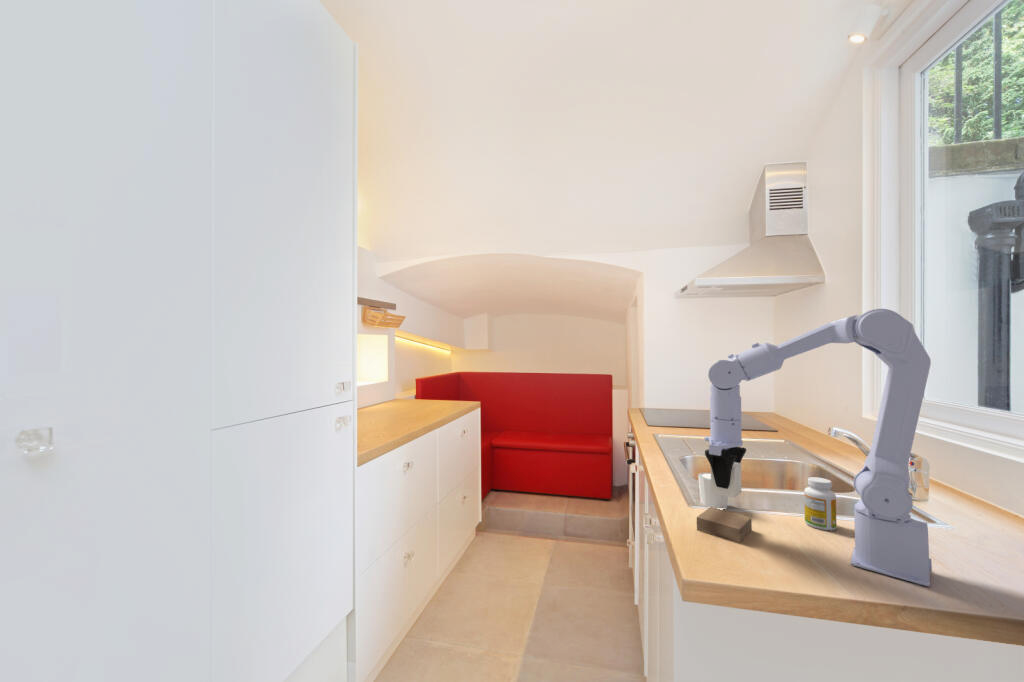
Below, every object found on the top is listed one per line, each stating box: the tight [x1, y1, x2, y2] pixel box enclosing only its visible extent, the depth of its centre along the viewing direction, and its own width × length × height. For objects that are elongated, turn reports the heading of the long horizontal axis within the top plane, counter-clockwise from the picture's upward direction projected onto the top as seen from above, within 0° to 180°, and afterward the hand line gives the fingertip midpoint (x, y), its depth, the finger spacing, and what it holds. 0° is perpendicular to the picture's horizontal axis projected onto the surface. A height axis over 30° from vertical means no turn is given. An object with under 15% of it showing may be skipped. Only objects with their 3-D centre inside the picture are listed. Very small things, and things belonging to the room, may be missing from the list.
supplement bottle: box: [803, 476, 838, 531], centre depth 86 cm, size 5×5×10 cm
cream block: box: [710, 462, 742, 499], centre depth 83 cm, size 4×4×6 cm
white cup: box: [697, 472, 729, 508], centre depth 96 cm, size 7×7×7 cm
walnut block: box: [696, 507, 753, 544], centre depth 83 cm, size 8×8×3 cm
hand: (726, 484), depth 83 cm, fingers closed on cream block, 4 cm apart
